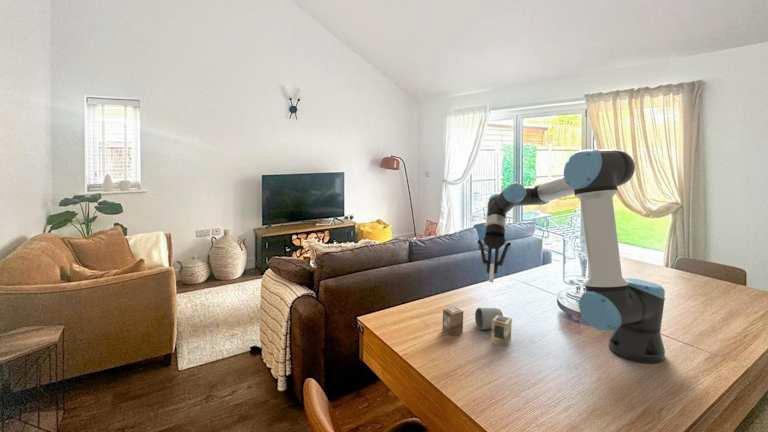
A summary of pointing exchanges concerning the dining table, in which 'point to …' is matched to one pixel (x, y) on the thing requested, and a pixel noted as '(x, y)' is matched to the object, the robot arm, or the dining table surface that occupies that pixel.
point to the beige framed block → (501, 330)
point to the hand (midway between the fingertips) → (491, 280)
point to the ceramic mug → (486, 317)
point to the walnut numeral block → (452, 321)
